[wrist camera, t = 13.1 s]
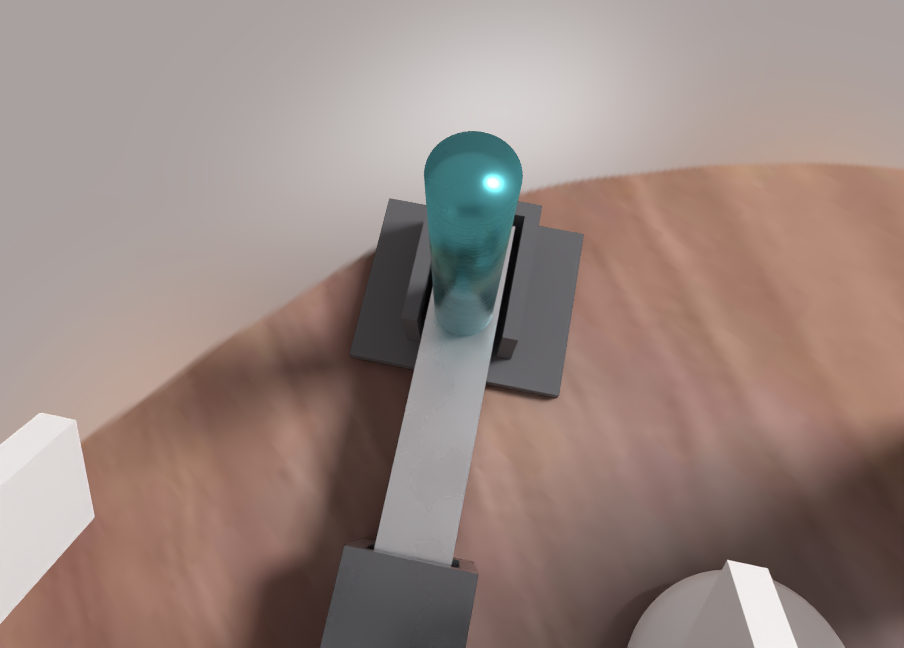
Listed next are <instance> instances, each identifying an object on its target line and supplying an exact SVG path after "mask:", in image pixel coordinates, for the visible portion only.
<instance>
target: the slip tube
mask: <svg viewBox="0 0 904 648" xmlns="http://www.w3.org/2000/svg"><path fill="white" fill-rule="evenodd" d="M522 176H523V175H522V167H521V163H520V160H519V159H518V156H517V155H516V153H515V152H514V150H513V149H512V148H511V147H510V146H509V145H508V144H507V143H506V142H505V141H503V140H502V139H500V138H498V137H496V136H494V135H491V134H488V133H484V132H477V131H468V132H462V133H457V134H455V135H452V136H450V137H448V138H446V139H444V140H443V141H441V142H440V143H439V144H438V145H437V146H436V147H435V148H434V149H433V150H432V152H431V153H430V155H429V157H428V159H427V162H426V165H425V170H424V179H425V193H426V206H427V218H428V231H429V244H430V256H431V269H432V281H433V288H432V293H431V297H430V302H429V306H428V311H427V315H426V320H425V324H424V328H423V333H422V337H421V342H420V346H419V351H418V355H417V360H416V364H415V369H414V373H413V378H412V382H411V387H410V391H409V396H408V400H407V404H406V409H405V413H404V418H403V422H402V427H401V431H400V436H399V440H398V445H397V449H396V454H395V458H394V463H393V467H392V471H391V476H390V480H389V485H388V489H387V494H386V498H385V503H384V507H383V512H382V516H381V521H380V525H379V530H378V534H377V539H376V543H375V547H374V550H377V551H381V552H386V553H390V554H395V555H400V556H404V557H409V558H414V559H418V560H423V561H428V562H432V563H437V564H441V565H446V566H451V565H452V559H453V554H454V549H455V543H456V538H457V533H458V527H459V522H460V517H461V512H462V506H463V501H464V496H465V490H466V485H467V480H468V475H469V469H470V464H471V459H472V453H473V448H474V443H475V437H476V432H477V427H478V422H479V416H480V411H481V406H482V400H483V395H484V390H485V384H486V379H487V374H488V369H489V363H490V358H491V353H492V347H493V342H494V337H495V331H496V326H497V321H498V316H499V310H500V305H501V300H502V294H503V289H504V284H505V278H506V273H507V268H508V263H509V257H510V252H511V247H512V241H513V236H514V231H515V227H514V226H512V225H513V221H514V216H515V212H516V207H517V203H518V198H519V194H520V189H521V185H522Z"/></svg>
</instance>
